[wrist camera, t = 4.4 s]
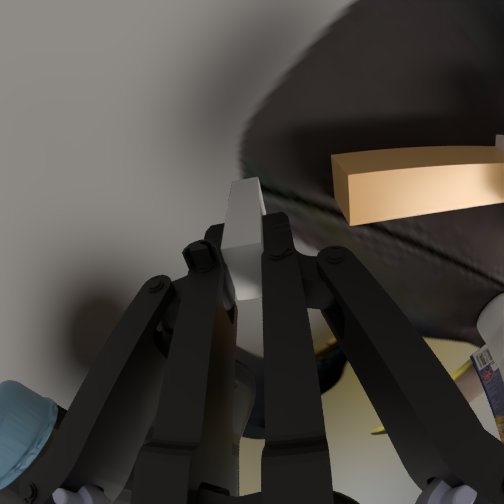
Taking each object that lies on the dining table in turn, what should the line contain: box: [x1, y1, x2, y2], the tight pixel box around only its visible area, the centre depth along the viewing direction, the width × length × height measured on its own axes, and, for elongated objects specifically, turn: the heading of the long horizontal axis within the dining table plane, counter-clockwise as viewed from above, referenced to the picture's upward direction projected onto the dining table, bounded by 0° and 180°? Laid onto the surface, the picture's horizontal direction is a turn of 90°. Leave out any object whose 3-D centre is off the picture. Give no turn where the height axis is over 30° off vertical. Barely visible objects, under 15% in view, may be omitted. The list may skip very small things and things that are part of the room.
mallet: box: [331, 135, 504, 226], centre depth 12 cm, size 20×5×8 cm, turn 102°
